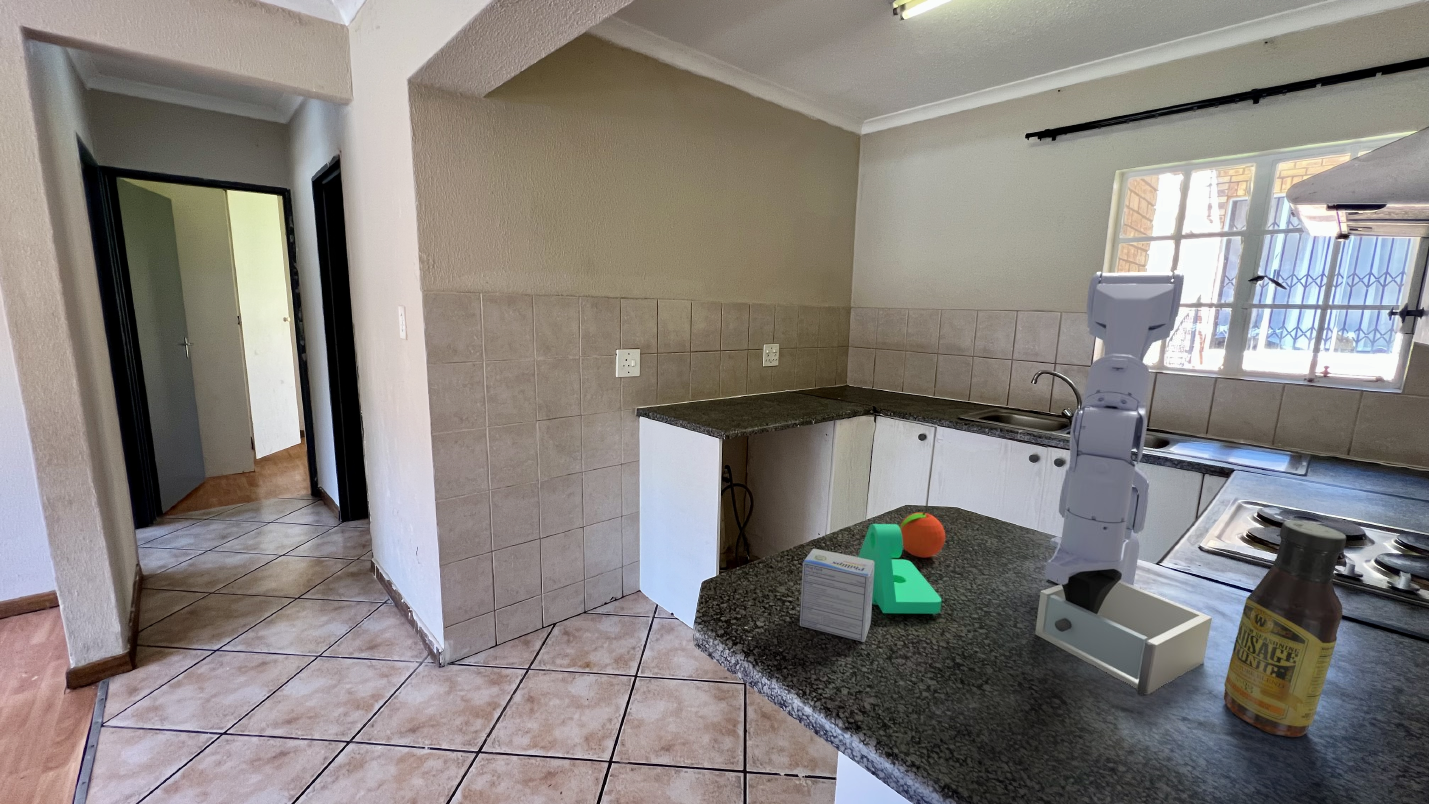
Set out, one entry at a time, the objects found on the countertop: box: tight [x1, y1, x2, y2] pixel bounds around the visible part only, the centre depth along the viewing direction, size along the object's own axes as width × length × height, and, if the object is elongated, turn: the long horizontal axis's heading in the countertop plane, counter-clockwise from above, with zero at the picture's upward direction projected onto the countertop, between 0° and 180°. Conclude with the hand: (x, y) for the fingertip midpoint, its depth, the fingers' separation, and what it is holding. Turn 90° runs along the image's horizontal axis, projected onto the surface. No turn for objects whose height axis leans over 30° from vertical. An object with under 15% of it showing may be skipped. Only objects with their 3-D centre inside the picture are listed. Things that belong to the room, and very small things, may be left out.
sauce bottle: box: [1223, 520, 1347, 738], centre depth 53 cm, size 6×6×20 cm
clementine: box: [899, 512, 946, 558], centre depth 88 cm, size 8×7×7 cm
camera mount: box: [857, 523, 942, 614], centre depth 76 cm, size 12×8×10 cm, turn 2°
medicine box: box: [799, 548, 875, 643], centre depth 68 cm, size 8×4×9 cm, turn 65°
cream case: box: [1034, 581, 1213, 696], centre depth 65 cm, size 13×12×6 cm
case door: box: [1045, 595, 1148, 680], centre depth 62 cm, size 2×10×5 cm, turn 29°
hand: (1079, 624), depth 65 cm, fingers closed
